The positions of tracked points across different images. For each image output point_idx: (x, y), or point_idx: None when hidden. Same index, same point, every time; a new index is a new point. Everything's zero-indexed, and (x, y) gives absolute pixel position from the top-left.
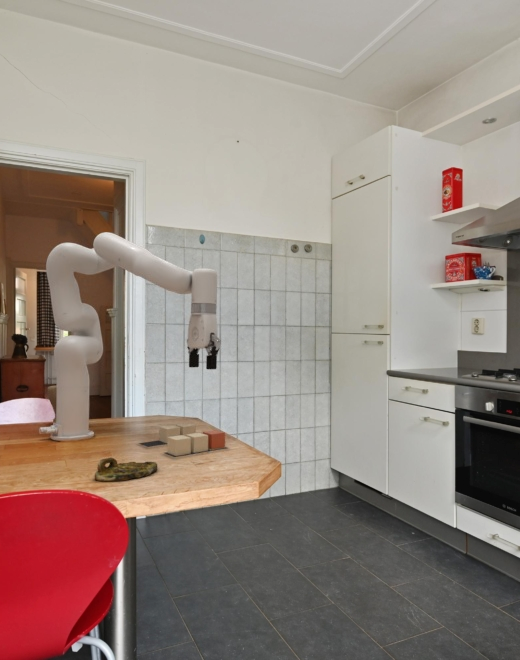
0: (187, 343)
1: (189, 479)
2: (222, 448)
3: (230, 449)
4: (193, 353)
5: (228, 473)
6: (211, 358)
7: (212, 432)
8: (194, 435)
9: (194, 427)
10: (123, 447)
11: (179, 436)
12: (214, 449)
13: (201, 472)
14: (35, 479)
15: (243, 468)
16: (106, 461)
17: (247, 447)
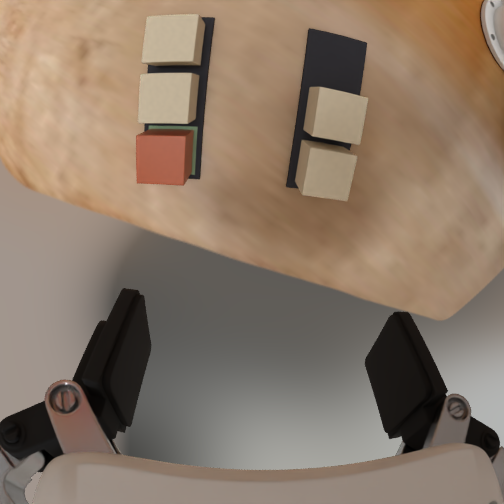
0: (490, 469)
1: (28, 3)
2: None
3: None
4: (419, 418)
5: (12, 72)
6: (79, 369)
7: (158, 153)
8: (160, 87)
9: (301, 187)
10: (363, 3)
11: (179, 44)
12: None
13: (40, 31)
14: None
15: (17, 111)
16: None
17: (137, 223)
